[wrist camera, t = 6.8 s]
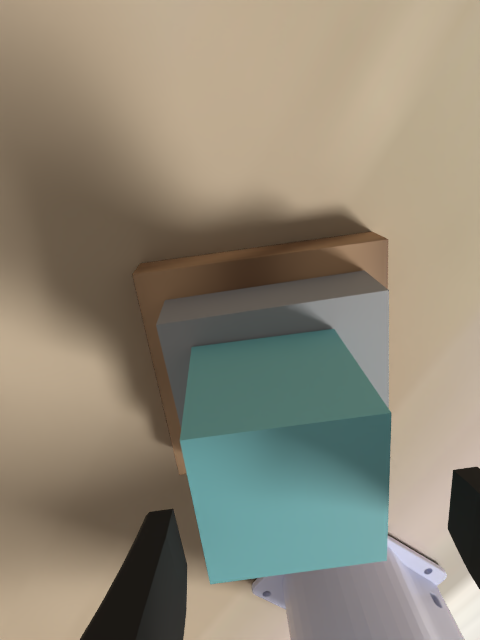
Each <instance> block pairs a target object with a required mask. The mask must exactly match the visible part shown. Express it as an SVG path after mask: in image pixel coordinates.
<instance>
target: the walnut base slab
mask: <svg viewBox="0 0 480 640" xmlns="http://www.w3.org/2000/svg"><path fill="white" fill-rule="evenodd" d="M363 270H365V271H366V272H367V273H368V274H369V275H371V276H372V277H373V278H374V279H376V280H377V281H378V282H379V283H381V284H382V285H383V286H384V287H386V288H387V289H388V239H386V238H384V237H382V236H380V235H378V234H376V233H374V232H366V233H358V234H351V235H344V236H336V237H329V238H322V239H315V240H307V241H300V242H293V243H286V244H278V245H271V246H264V247H256V248H249V249H242V250H235V251H227V252H220V253H213V254H205V255H198V256H191V257H184V258H176V259H169V260H162V261H154V262H147V263H140V264H139V266H138V267H137V269H136V270H135V271H134V273H133V274H132V276H133V280H134V284H135V288H136V293H137V297H138V301H139V306H140V310H141V314H142V318H143V323H144V327H145V331H146V335H147V340H148V344H149V348H150V353H151V357H152V361H153V365H154V370H155V374H156V378H157V382H158V387H159V391H160V395H161V399H162V404H163V408H164V412H165V417H166V421H167V425H168V429H169V434H170V438H171V442H172V446H173V451H174V455H175V459H176V463H177V468H178V472H179V475H183V474H187V472H186V467H185V463H184V458H183V453H182V449H181V444H180V435H181V427H180V423H179V419H178V414H177V410H176V406H175V402H174V398H173V394H172V389H171V385H170V381H169V377H168V373H167V369H166V364H165V360H164V356H163V352H162V348H161V344H160V339H159V335H158V331H157V327H156V324H157V321H158V318H159V315H160V312H161V309H162V307H163V304H164V301H165V300H169V299H176V298H183V297H189V296H196V295H203V294H210V293H216V292H223V291H230V290H236V289H243V288H250V287H256V286H263V285H270V284H276V283H283V282H290V281H296V280H303V279H310V278H317V277H323V276H330V275H337V274H343V273H350V272H357V271H363Z"/></svg>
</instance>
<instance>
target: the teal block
mask: <svg viewBox="0 0 480 640" xmlns="http://www.w3.org/2000/svg"><path fill="white" fill-rule="evenodd" d="M390 441H391V412H390V410H389V409H388V407H387V406H386V404H385V403H384V401H383V400H382V398H381V397H380V395H379V394H378V392H377V391H376V390H375V388H374V387H373V385H372V384H371V382H370V381H369V379H368V378H367V376H366V375H365V373H364V372H363V370H362V369H361V368H360V366H359V365H358V363H357V362H356V360H355V359H354V357H353V356H352V354H351V353H350V351H349V350H348V348H347V347H346V345H345V344H344V343H343V341H342V340H341V338H340V337H339V335H338V334H337V332H336V331H335V329H328V330H320V331H312V332H305V333H297V334H289V335H281V336H273V337H266V338H258V339H250V340H242V341H235V342H227V343H219V344H211V345H204V346H196V347H192V348H191V356H190V364H189V372H188V379H187V387H186V395H185V403H184V411H183V419H182V427H181V435H180V444H181V449H182V453H183V458H184V463H185V467H186V472H187V477H188V482H189V486H190V491H191V496H192V500H193V505H194V510H195V514H196V519H197V524H198V529H199V533H200V538H201V543H202V547H203V552H204V557H205V561H206V566H207V571H208V576H209V580H210V584H216V583H223V582H231V581H238V580H246V579H253V578H261V577H268V576H276V575H283V574H291V573H298V572H306V571H313V570H321V569H328V568H336V567H344V566H351V565H359V564H366V563H374V562H381V561H387V538H388V506H389V474H390Z"/></svg>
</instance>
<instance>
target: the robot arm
mask: <svg viewBox="0 0 480 640" xmlns="http://www.w3.org/2000/svg"><path fill="white" fill-rule="evenodd" d="M448 530H449V532H450V535H451V537H452V539H453V541H454V543H455V545H456V547H457V549H458V551H459V553H460V555H461V557H462V559H463V561H464V563H465V565H466V567H467V569H468V571H469V573H470V574H471V576H472V578H473V579H474V581H475V583H476V584H477V586H478V587H479V589H480V469H479V468H478V467H472V468H464V469H457V470H453V478H452V488H451V499H450V510H449V520H448ZM446 576H447V575H446V572H445V570H444V569H443V568H442V567H440V566H439V565H437V564H435V563H434V562H432V561H430V560H429V559H427V558H425V557H424V556H422V555H420V554H419V553H417V552H415V551H414V550H412V549H410V548H409V547H407V546H405V545H403V544H402V543H400V542H398V541H397V540H395V539H393V538H392V537H390V536H388V538H387V561H381V562H374V563H366V564H359V565H351V566H344V567H336V568H328V569H321V570H313V571H306V572H298V573H291V574H283V575H276V576H268V577H261V578H257V579H256V580H255V581H254V582H253V584H252V592H253V594H255V595H256V596H259V597H261V598H263V599H265V600H267V601H269V602H271V603H273V604H275V605H277V606H280V607H282V608H284V609H286V612H287V619H288V625H289V632H290V638H291V640H465V639H464V637H463V636H462V634H461V632H460V630H459V628H458V626H457V624H456V622H455V620H454V618H453V616H452V614H451V612H450V610H449V608H448V606H447V605H446V603H445V601H444V599H443V597H442V595H441V593H440V591H439V589H438V587H437V585H439V584H440V583H441V582H443V581H444V580H445V579H446ZM186 599H187V563H186V559H185V555H184V551H183V547H182V543H181V539H180V535H179V531H178V527H177V523H176V519H175V515H174V510H173V509H168V510H161V511H154V512H149V513H148V514H147V515H146V517H145V519H144V521H143V524H142V526H141V528H140V530H139V532H138V534H137V537H136V539H135V541H134V543H133V545H132V547H131V549H130V551H129V553H128V555H127V557H126V559H125V561H124V563H123V565H122V567H121V568H120V570H119V572H118V574H117V576H116V578H115V580H114V581H113V583H112V585H111V587H110V589H109V591H108V592H107V594H106V596H105V598H104V600H103V601H102V603H101V605H100V607H99V608H98V610H97V612H96V613H95V615H94V617H93V618H92V620H91V622H90V623H89V625H88V627H87V628H86V630H85V632H84V633H83V635H82V637H81V638H80V640H183V636H184V627H185V618H186Z"/></svg>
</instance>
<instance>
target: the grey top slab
mask: <svg viewBox="0 0 480 640" xmlns="http://www.w3.org/2000/svg"><path fill="white" fill-rule="evenodd" d="M156 327H157V331H158V335H159V339H160V344H161V348H162V352H163V356H164V360H165V364H166V369H167V373H168V377H169V381H170V385H171V389H172V394H173V398H174V402H175V406H176V410H177V414H178V419H179V423H180V427H182V419H183V411H184V403H185V395H186V387H187V379H188V372H189V364H190V356H191V348H192V347H196V346H204V345H211V344H219V343H227V342H235V341H242V340H250V339H258V338H266V337H273V336H281V335H289V334H297V333H305V332H312V331H320V330H328V329H335V331H336V332H337V334H338V335H339V337H340V338H341V340H342V341H343V343H344V344H345V345H346V347H347V348H348V350H349V351H350V353H351V354H352V356H353V357H354V359H355V360H356V362H357V363H358V365H359V366H360V368H361V369H362V370H363V372H364V373H365V375H366V376H367V378H368V379H369V381H370V382H371V384H372V385H373V387H374V388H375V390H376V391H377V392H378V394H379V395H380V397H381V398H382V400H383V401H384V403H385V404H386V406H387V407H388V409H389V290H388V289H387V288H386V287H384V286H383V285H382V284H381V283H379V282H378V281H377V280H376V279H374V278H373V277H372V276H371V275H369V274H368V273H367V272H366V271H365V270H363V271H357V272H350V273H343V274H337V275H330V276H323V277H317V278H310V279H303V280H296V281H290V282H283V283H276V284H270V285H263V286H256V287H250V288H243V289H236V290H230V291H223V292H216V293H210V294H203V295H196V296H189V297H183V298H176V299H169V300H165V301H164V304H163V307H162V309H161V312H160V315H159V318H158V321H157V324H156Z"/></svg>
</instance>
